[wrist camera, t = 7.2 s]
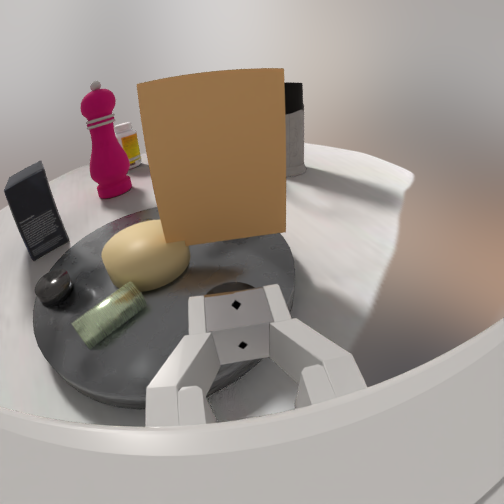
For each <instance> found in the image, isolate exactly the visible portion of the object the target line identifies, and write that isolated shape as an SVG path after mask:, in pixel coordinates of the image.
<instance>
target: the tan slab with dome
mask: <svg viewBox="0 0 504 504" xmlns="http://www.w3.org/2000/svg"><path fill="white" fill-rule="evenodd" d="M137 90H138V99H139V107H140V114H141V121H142V127H143V134H144V141H145V146H146V152H147V158H148V164H149V169H150V174H151V179H152V184H153V189H154V194H155V198H156V203H157V207H158V212H159V216H160V220H150V221H145V222H141V223H137V224H134V225H132V226H129V227H127V228H125V229H123V230H121V231H120V232H118V233H117V234H115V235H114V236H113V237H112V238H111V239H110V240H109V241H108V242H107V243H106V244H105V246H104V248H103V250H102V260H103V263H104V265H105V268H106V270H107V272H108V275H109V277H110V279H111V281H112V283H113V284H114V285H115V286H116V287H118V288H121V287H122V286H124V285H125V284H127V283H128V282H132V283H133V284H134V285H135V286H136V287H137V288H138V289H139V290H140V292H144V291H150V290H154V289H157V288H160V287H162V286H164V285H166V284H168V283H170V282H172V281H173V280H175V279H176V278H177V277H179V276H180V275H181V274H182V273H183V272H184V271H185V269H186V268H187V266H188V264H189V262H190V257H191V256H190V250H189V246H190V245H197V244H204V243H211V242H218V241H225V240H232V239H239V238H246V237H253V236H261V235H268V234H276V233H283V232H286V123H285V87H284V69H283V68H281V69H278V68H268V69H267V68H261V69H239V70H238V69H236V70H224V71H212V72H203V73H195V74H188V75H181V76H175V77H169V78H163V79H158V80H153V81H149V82H144V83H140V84H137Z"/></svg>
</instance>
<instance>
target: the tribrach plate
mask: <svg viewBox="0 0 504 504" xmlns="http://www.w3.org/2000/svg"><path fill="white" fill-rule="evenodd" d="M150 220H160V216H159V212H158V207H156V208H151V209H147V210H143V211H140V212H136V213H133V214H130V215H127V216H125V217H122V218H119V219H117V220H115V221H113V222H110V223H108V224H106V225H104V226H102V227H101V228H99V229H97V230H95V231H94V232H92V233H90V234H89V235H87V236H86V237H84V238H83V239H81V240H80V241H79V242H77V243H76V244H75V245H74V246H72V247H71V248H70V249H69V250H68V251H67V252H66V253H65V254H64V255H63V256H62V257H61V258H60V259H59V260H58V261H57V262H56V263H55V265H54V266H53V267H52V268H51V270H50V271H49V273H47V274H45V275H44V276H43V277H42V278H41V279H40V280H39V281H38V283H37V284H36V287H35V293H36V295H37V297H36V301H35V305H34V310H33V327H34V334H35V337H36V341H37V344H38V346H39V348H40V350H41V352H42V354H43V355H44V357H45V358H46V360H47V361H48V362H49V363H50V364H51V365H52V367H53V368H54V369H55V370H56V371H57V372H58V373H59V374H60V375H61V376H62V377H63V378H64V379H65V380H66V381H67V382H68V383H69V384H70V385H71V386H72V387H74V388H75V389H77V390H78V391H79V392H81V393H82V394H84V395H86V396H88V397H90V398H92V399H94V400H96V401H99V402H102V403H105V404H109V405H112V406H116V407H122V408H131V409H146V388H147V387H148V385H149V384H150V382H151V381H152V380H153V378H154V377H155V375H156V374H157V373H158V371H159V370H160V369H161V367H162V366H163V364H164V363H165V362H166V360H167V359H168V357H169V356H170V355H171V353H172V352H173V351H174V349H175V348H176V346H177V345H178V344H179V342H180V341H181V340H182V338H183V337H184V336H185V335H189V320H188V300H189V297H194V296H203V295H209V294H217V293H225V292H233V291H239V290H245V289H251V288H257V287H263V286H268V285H274V284H278V285H279V287H280V289H281V292H282V294H283V297H284V300H285V302H286V305H287V307H288V310H289V313H290V311H291V308H292V302H293V293H294V278H295V268H294V259H293V256H292V253H291V250H290V247H289V246H288V244H287V242H286V241H285V239H284V238H283V236H282V235H281V234H280V233H276V234H268V235H261V236H253V237H246V238H239V239H232V240H225V241H218V242H211V243H204V244H197V245H190V246H189V250H190V256H191V257H190V262H189V264H188V266H187V268H186V269H185V271H184V272H183V273H182V274H181V275H180V276H179V277H177V278H176V279H175V280H173V281H172V282H170V283H168V284H166V285H164V286H162V287H160V288H157V289H154V290H150V291H144V292H140V290H139V289H138V288H137V287H136V286H135V285H134V284H133V283H132V282H128V283H127V284H125V285H124V286H122V287H121V288H118V287H116V286H115V285H114V284H113V283H112V281H111V279H110V277H109V275H108V272H107V270H106V268H105V265H104V263H103V260H102V250H103V248H104V246H105V244H106V243H107V242H108V241H109V240H110V239H111V238H112V237H113V236H114V235H115V234H117V233H118V232H120V231H121V230H123V229H125V228H127V227H129V226H132V225H134V224H137V223H141V222H145V221H150ZM261 359H262V358H259V359H253V360H246V361H240V362H234V363H229V364H223V365H220V369H219V371H218V373H217V375H216V377H215V379H214V381H213V383H212V385H211V387H210V389H209V391H208V393H207V395H206V396H208V395H210V394H212V393H214V392H216V391H218V390H220V389H222V388H224V387H225V386H227V385H229V384H231V383H233V382H234V381H236V380H237V379H238V378H240V377H241V376H242V375H244V374H245V373H246V372H248V371H249V370H250V369H252V368H253V367H254V366H255V365H256V364H257V363H258V362H259V361H260V360H261Z"/></svg>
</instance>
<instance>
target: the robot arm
mask: <svg viewBox="0 0 504 504" xmlns="http://www.w3.org/2000/svg"><path fill="white" fill-rule="evenodd" d="M188 320H189V335H185V336H184V337H183V338H182V340H181V341H180V342H179V344H178V345H177V346H176V348H175V349H174V351H173V352H172V353H171V355H170V356H169V357H168V359H167V360H166V362H165V363H164V364H163V366H162V367H161V369H160V370H159V371H158V373H157V374H156V375H155V377H154V378H153V380H152V381H151V382H150V384H149V385H148V387H147V388H146V417H145V427H134V426H110V425H97V424H86V423H78V422H70V421H63V420H57V419H51V418H46V417H41V416H36V415H31V414H27V413H22V412H18V411H14V410H11V409H7V408H3V407H0V504H504V318H502V319H501V320H499V321H498V322H497V323H495V324H493V325H492V326H490V327H489V328H487V329H486V330H484V331H483V332H481V333H480V334H478V335H477V336H475V337H473V338H471V339H470V340H468V341H466V342H465V343H463V344H461V345H459V346H458V347H456V348H454V349H452V350H451V351H448V352H447V353H445V354H443V355H441V356H439V357H437V358H435V359H433V360H431V361H429V362H427V363H425V364H423V365H421V366H418V367H416V368H414V369H412V370H410V371H407V372H405V373H403V374H400V375H398V376H396V377H393V378H391V379H389V380H386V381H383V382H381V383H378V384H376V385H373V386H370V387H367V385H366V383H365V381H364V379H363V377H362V374H361V372H360V370H359V368H358V366H357V364H356V362H355V360H354V358H353V356H352V354H351V353H349V352H348V351H346V350H345V349H343V348H341V347H340V346H338V345H337V344H335V343H334V342H332V341H331V340H329V339H327V338H326V337H324V336H323V335H321V334H320V333H318V332H317V331H315V330H314V329H312V328H311V327H309V326H308V325H306V324H305V323H303V322H301V321H300V320H298V319H297V318H293V319H292V318H291V315H290V313H289V310H288V307H287V305H286V302H285V300H284V297H283V294H282V292H281V289H280V287H279V285H278V284H274V285H268V286H263V287H257V288H251V289H245V290H239V291H233V292H225V293H217V294H209V295H203V296H194V297H189V300H188ZM266 357H270V359H272V360H273V361H274V362H275V363H276V364H277V365H278V366H279V367H280V368H281V369H282V370H283V371H284V372H286V373H287V374H288V375H289V376H290V377H291V378H292V379H293V380H294V381H295V382H297V383H298V384H299V387H298V391H297V396H296V400H295V409H293V410H289V411H284V412H280V413H275V414H270V415H265V416H259V417H253V418H247V419H241V420H234V421H226V422H218V423H217V421H216V418H215V416H214V414H213V411H212V409H211V407H210V405H209V403H208V401H207V399H206V395H207V393H208V391H209V389H210V387H211V385H212V383H213V381H214V379H215V377H216V375H217V373H218V371H219V369H220V365H223V364H229V363H234V362H240V361H246V360H253V359H259V358H266Z"/></svg>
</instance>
